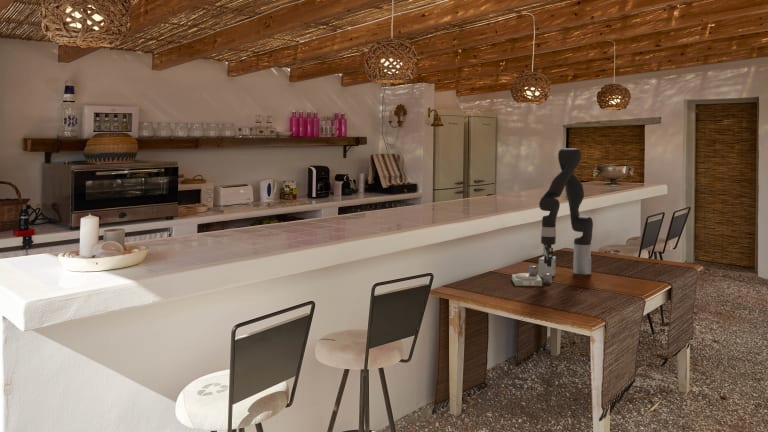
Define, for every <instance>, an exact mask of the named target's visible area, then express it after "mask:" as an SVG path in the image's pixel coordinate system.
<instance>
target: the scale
mask: <svg viewBox="0 0 768 432" xmlns="http://www.w3.org/2000/svg"><path fill="white" fill-rule="evenodd" d="M511 281H512V282H513V284H514V286H515V287H516V286H517V287H518V286H521V287H522V286H523V287H527V286H528V287H529V286H530V287H542V286H543V279H542V277H539V274H537V276H529V272H520V273H515V274H511Z"/></svg>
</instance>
